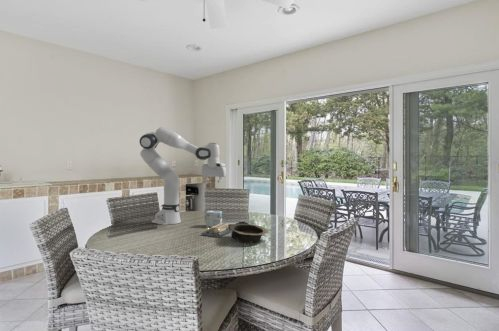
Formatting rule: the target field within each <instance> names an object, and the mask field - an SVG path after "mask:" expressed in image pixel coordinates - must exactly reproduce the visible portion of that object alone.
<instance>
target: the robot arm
mask: <svg viewBox="0 0 499 331" xmlns="http://www.w3.org/2000/svg"><path fill="white" fill-rule="evenodd" d="M159 143H163V144H164V145H167V146H169V147H172V148H175V149H182V150H185V151H187V152H189V153H190V154H193V155H195V157H196V158H197V159H198V160H200V161H205V160H207V164H206V163H203V164H202V165H201V176H202V177H205V179H206V182H207V183H210V182H211V180H210V179H209V177H213V178H214V177H216V178H218V180H217V184H220V183H221V181H222V179H223V178H225V177H226V176H227V168H226V165H227V164H226V163H223V162H222V161H220V155H221V154H220V152H221V151H220V145H219V144H218V143H215V142H209V143H207V144H205V145H203V146H196V145H194V144H192V143H191V142H188V140H186V139H184V137H183V136H182V135H180V134H179V133H177V132H175V131H173V130H171V129H168V128H166V127H161V126H160V127H158V128H157V129H156V130H155V132H154V131H153V132H146V133H145V134H143V135H142V136H141V137H140V138H139V145H140V147H141V148H142V149H141V150H140V157H141V158H142V160H143V161H144V163H146V164H147V166H148V167H149V168H150V169H151V170H152V171H153V172H154V173H155V174H156V175H158V177H159V178H161V179H162V180H163V204H161V206H160V207H161V209H160V210H159V211H157V213H155V215H154V219H153V220H151V223H154V224H158V225H164V226H166V225H176V224H180V223H182V220H181V215H180V208H181V204H180V176H179V173H177V172H176V171H175V170H174V168H173V167H171V166H170V165H169V164H168V163H167V162H166V161H165V159H164V158H163V157H162V156H161V155H160V154H159V153H158V152H157V151H156V148H157V146H158V145H159ZM222 177H223V178H222Z"/></svg>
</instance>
